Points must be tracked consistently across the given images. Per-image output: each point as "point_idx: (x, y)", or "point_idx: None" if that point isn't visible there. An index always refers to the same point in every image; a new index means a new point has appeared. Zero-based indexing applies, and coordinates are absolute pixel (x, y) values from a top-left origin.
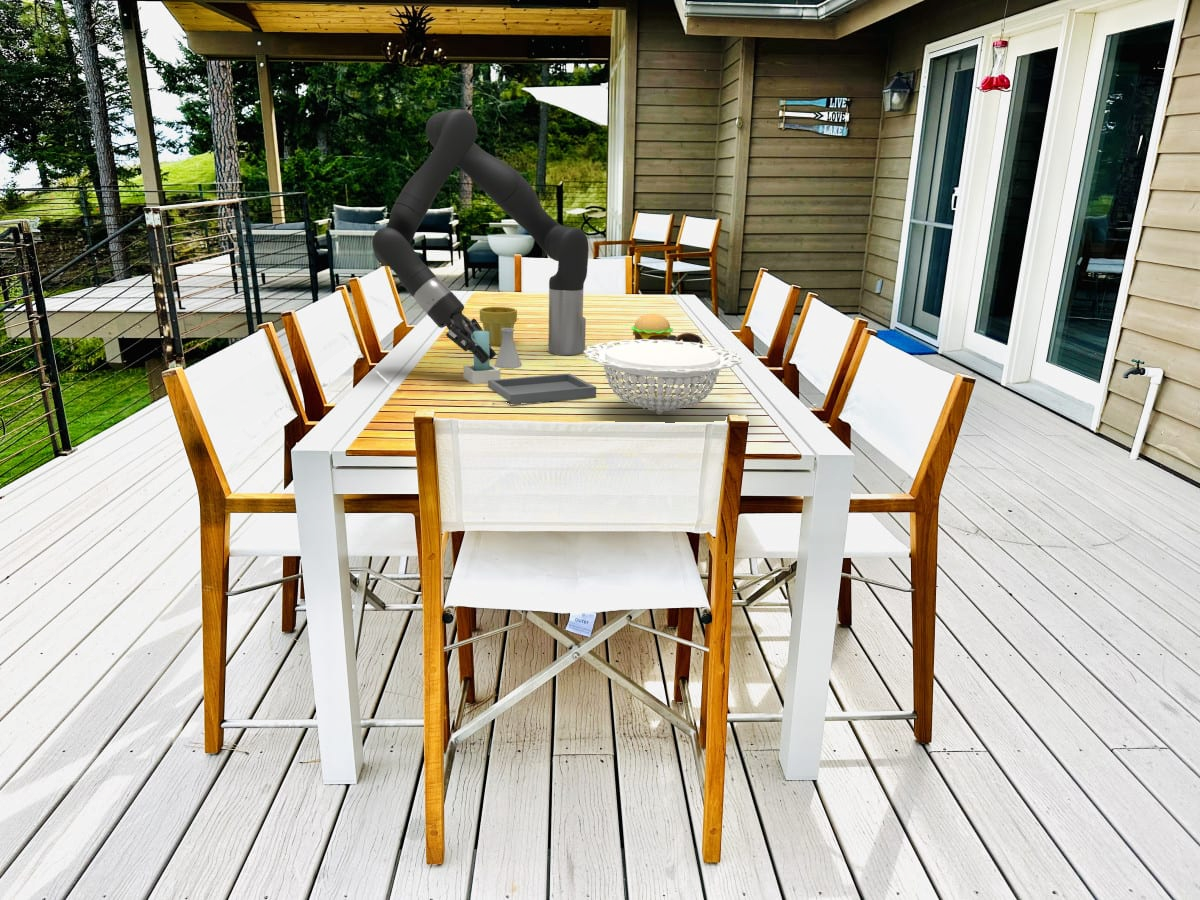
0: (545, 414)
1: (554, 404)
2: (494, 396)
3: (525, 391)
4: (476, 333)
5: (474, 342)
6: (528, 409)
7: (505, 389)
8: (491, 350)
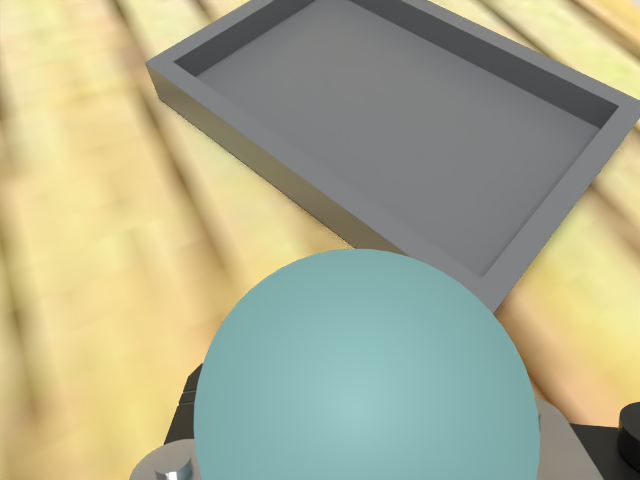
0: (612, 29)
1: None
2: (550, 253)
3: (443, 145)
4: (537, 420)
5: (568, 428)
6: (607, 80)
7: (590, 155)
8: None
